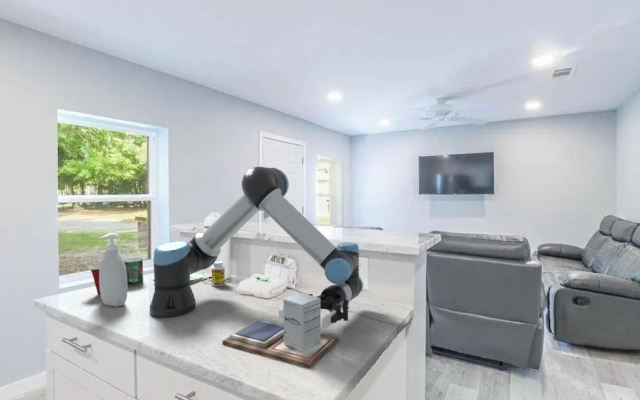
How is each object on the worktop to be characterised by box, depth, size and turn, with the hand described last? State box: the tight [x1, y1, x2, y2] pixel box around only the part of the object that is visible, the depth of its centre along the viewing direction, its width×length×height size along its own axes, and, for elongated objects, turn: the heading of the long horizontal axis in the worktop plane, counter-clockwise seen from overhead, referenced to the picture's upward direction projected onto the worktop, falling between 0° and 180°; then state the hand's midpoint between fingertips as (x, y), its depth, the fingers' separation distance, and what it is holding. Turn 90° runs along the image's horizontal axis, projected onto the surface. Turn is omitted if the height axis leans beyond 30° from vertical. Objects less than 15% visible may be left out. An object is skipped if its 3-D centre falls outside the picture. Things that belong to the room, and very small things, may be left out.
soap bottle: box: [97, 232, 128, 308], centre depth 127 cm, size 14×8×27 cm, turn 62°
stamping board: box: [222, 319, 339, 369], centre depth 95 cm, size 28×16×2 cm, turn 62°
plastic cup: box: [89, 264, 101, 297], centre depth 141 cm, size 11×11×12 cm
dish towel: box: [152, 270, 204, 285], centre depth 162 cm, size 18×23×3 cm
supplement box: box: [283, 292, 321, 352], centre depth 92 cm, size 7×7×13 cm
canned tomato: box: [123, 257, 144, 287], centre depth 155 cm, size 8×8×11 cm
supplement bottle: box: [211, 260, 226, 287], centre depth 152 cm, size 6×6×10 cm
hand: (300, 319), depth 91 cm, fingers open, 13 cm apart
